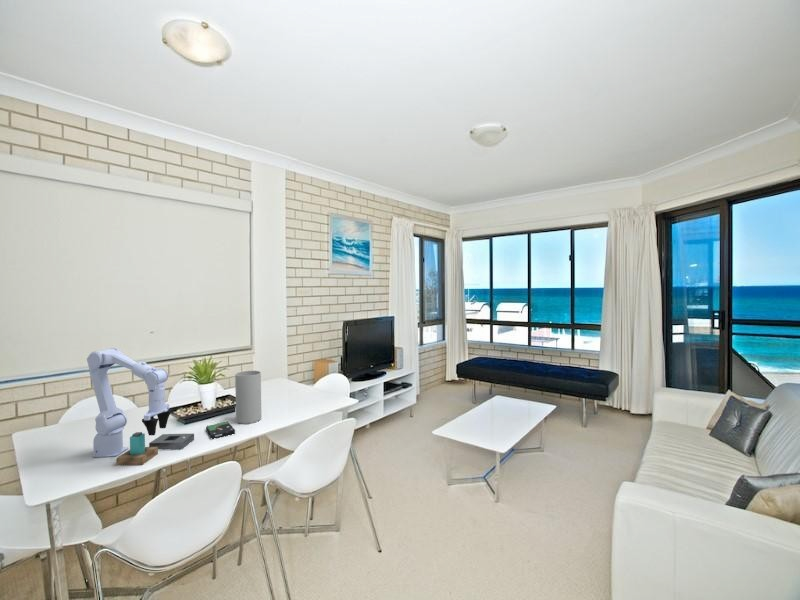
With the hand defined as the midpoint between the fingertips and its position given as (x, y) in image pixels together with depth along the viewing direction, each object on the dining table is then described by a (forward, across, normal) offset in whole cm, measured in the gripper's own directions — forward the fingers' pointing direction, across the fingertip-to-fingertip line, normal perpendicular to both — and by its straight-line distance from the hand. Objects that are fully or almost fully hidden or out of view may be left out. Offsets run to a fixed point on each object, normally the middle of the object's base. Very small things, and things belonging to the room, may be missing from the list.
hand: (157, 431), depth 155 cm
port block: (+10, +11, 0) cm, 15 cm away
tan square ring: (+10, -3, +6) cm, 12 cm away
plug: (+10, -3, +6) cm, 12 cm away
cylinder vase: (+10, +40, -24) cm, 48 cm away
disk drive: (+11, +24, -15) cm, 31 cm away
